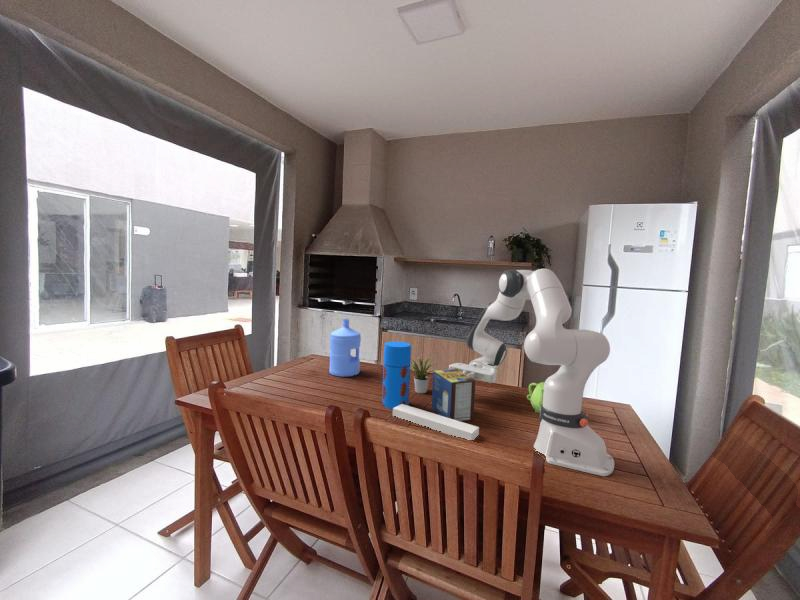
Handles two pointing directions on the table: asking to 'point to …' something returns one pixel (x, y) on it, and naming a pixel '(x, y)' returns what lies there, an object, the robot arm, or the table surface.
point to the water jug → (344, 351)
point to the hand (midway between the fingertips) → (464, 376)
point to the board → (436, 422)
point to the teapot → (536, 396)
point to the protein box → (453, 394)
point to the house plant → (421, 375)
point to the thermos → (396, 374)
